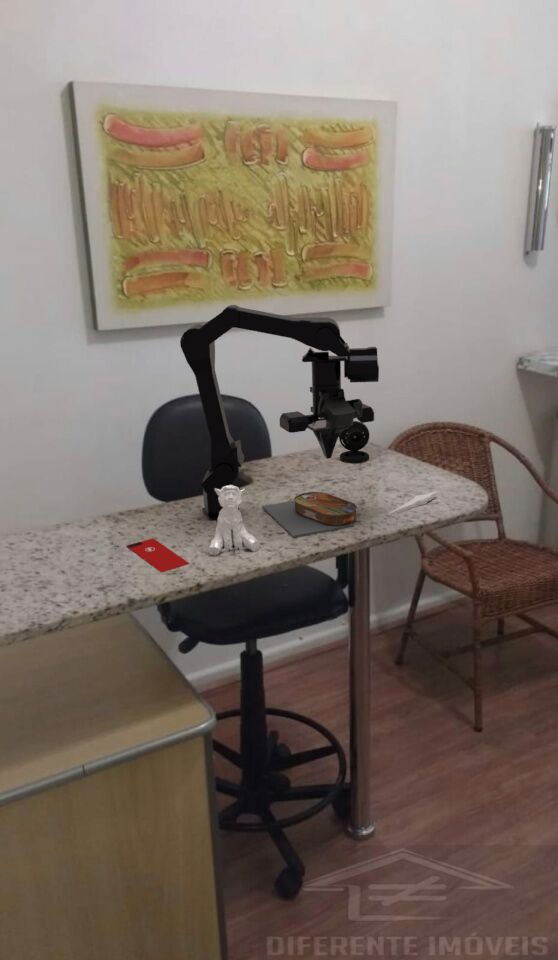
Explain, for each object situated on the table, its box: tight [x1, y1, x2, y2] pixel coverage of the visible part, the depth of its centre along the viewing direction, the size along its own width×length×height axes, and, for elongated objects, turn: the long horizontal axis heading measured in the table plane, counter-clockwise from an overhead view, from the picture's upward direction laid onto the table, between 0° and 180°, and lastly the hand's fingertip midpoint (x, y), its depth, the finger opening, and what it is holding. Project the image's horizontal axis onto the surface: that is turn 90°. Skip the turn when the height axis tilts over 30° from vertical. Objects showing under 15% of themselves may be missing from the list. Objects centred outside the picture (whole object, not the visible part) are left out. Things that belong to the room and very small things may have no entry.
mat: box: [261, 500, 354, 538], centre depth 155 cm, size 13×18×1 cm
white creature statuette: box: [208, 485, 260, 557], centre depth 141 cm, size 10×9×12 cm
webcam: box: [338, 420, 370, 464], centre depth 190 cm, size 8×8×10 cm
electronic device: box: [126, 538, 190, 573], centre depth 140 cm, size 6×1×15 cm
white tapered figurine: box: [388, 490, 438, 516], centre depth 159 cm, size 15×3×2 cm, turn 128°
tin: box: [293, 491, 358, 526], centre depth 155 cm, size 15×3×8 cm
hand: (328, 458), depth 154 cm, fingers closed
